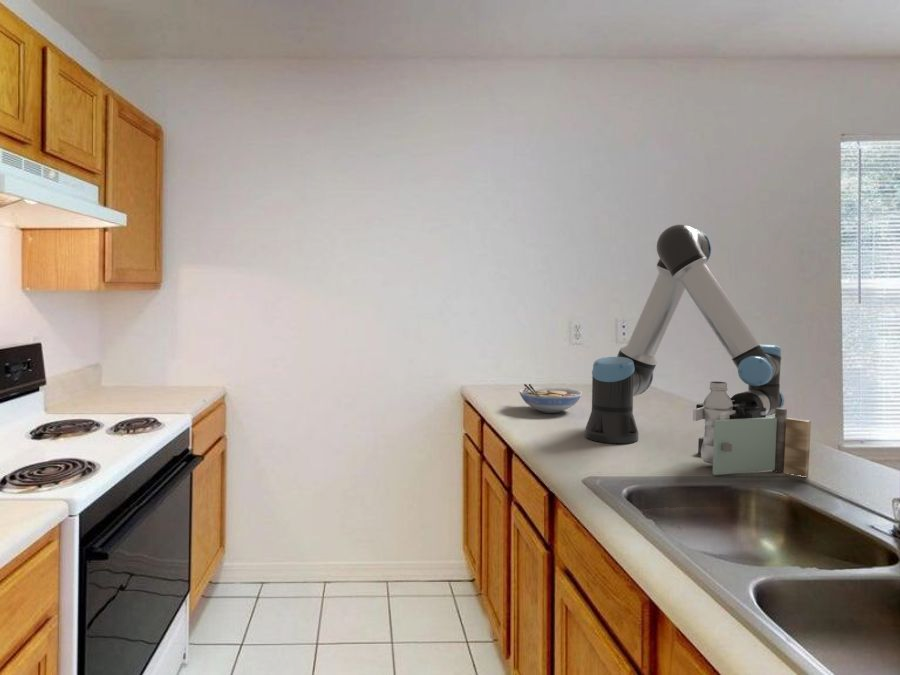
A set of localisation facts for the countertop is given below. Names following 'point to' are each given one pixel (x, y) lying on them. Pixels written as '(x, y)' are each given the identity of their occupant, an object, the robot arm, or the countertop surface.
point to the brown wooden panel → (789, 444)
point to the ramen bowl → (550, 398)
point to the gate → (744, 445)
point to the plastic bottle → (714, 416)
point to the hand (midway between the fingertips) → (707, 417)
